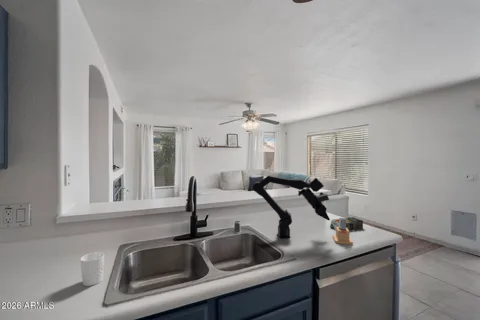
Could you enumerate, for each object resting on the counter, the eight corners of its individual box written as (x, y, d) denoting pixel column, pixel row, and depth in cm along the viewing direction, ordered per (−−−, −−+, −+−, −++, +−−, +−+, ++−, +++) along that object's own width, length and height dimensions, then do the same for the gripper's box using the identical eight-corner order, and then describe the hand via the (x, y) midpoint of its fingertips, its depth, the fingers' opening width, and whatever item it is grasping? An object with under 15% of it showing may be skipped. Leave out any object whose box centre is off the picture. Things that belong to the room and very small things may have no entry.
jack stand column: (340, 239, 127) (340, 219, 127) (338, 237, 130) (339, 217, 130) (345, 239, 126) (346, 219, 126) (344, 237, 129) (344, 218, 129)
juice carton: (339, 232, 143) (339, 222, 143) (328, 227, 152) (328, 218, 152) (363, 229, 149) (363, 220, 149) (352, 225, 158) (352, 216, 158)
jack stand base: (335, 243, 125) (335, 231, 125) (332, 237, 134) (332, 226, 133) (352, 244, 123) (353, 232, 123) (348, 238, 131) (349, 227, 131)
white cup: (108, 275, 92) (108, 251, 91) (97, 287, 84) (96, 261, 83) (89, 275, 91) (88, 252, 91) (75, 287, 83) (75, 261, 83)
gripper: (324, 191, 122) (343, 213, 120) (318, 186, 140) (334, 205, 139) (307, 203, 123) (326, 225, 122) (304, 197, 142) (320, 216, 140)
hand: (327, 217), depth 131 cm, fingers open, 9 cm apart
